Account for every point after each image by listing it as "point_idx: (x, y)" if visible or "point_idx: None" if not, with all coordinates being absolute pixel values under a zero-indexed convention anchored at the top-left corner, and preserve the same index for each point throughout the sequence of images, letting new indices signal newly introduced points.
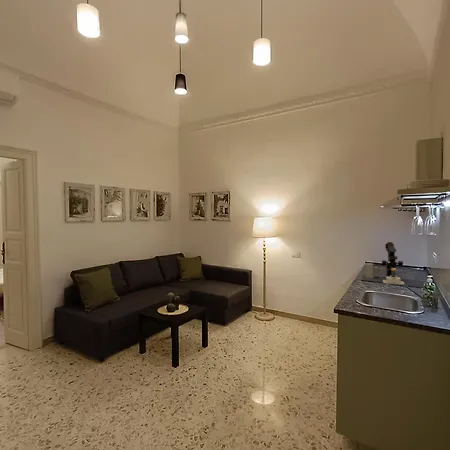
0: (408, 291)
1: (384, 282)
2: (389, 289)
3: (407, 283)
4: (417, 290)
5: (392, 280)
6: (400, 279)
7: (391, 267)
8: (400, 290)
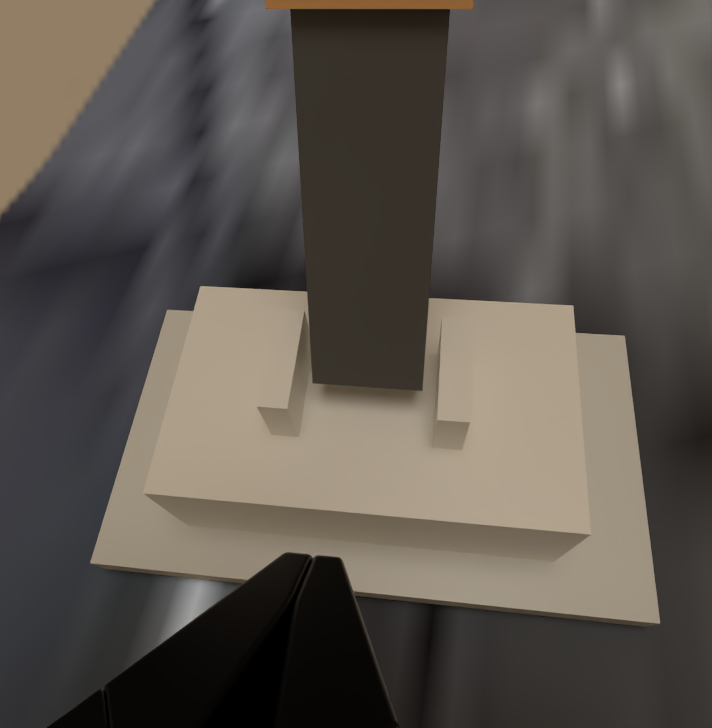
0: (259, 4)
1: (594, 337)
2: (506, 18)
3: (39, 488)
4: (109, 69)
5: None
6: (206, 293)
7: (369, 659)
8: None
